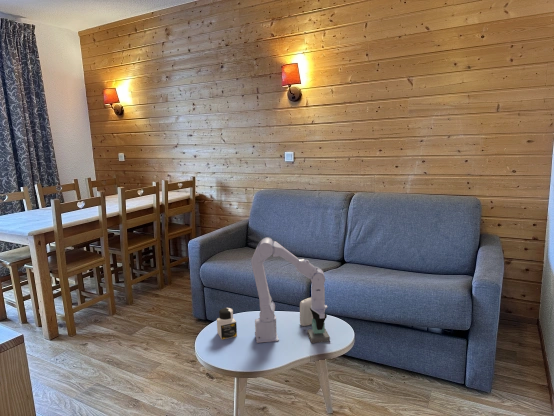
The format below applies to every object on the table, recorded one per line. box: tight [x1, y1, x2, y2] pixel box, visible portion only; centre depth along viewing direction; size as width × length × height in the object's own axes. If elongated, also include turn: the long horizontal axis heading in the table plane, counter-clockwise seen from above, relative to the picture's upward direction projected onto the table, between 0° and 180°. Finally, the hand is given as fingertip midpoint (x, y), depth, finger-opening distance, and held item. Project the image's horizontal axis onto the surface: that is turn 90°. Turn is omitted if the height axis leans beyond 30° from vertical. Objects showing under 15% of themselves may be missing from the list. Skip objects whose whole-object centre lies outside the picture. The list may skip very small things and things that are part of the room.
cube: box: [311, 319, 326, 334], centre depth 165 cm, size 4×4×4 cm
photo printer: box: [299, 297, 313, 327], centre depth 178 cm, size 10×4×12 cm, turn 119°
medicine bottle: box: [216, 307, 238, 341], centre depth 169 cm, size 7×7×12 cm
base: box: [306, 328, 331, 344], centre depth 165 cm, size 8×8×2 cm
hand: (318, 326), depth 165 cm, fingers closed on cube, 4 cm apart
